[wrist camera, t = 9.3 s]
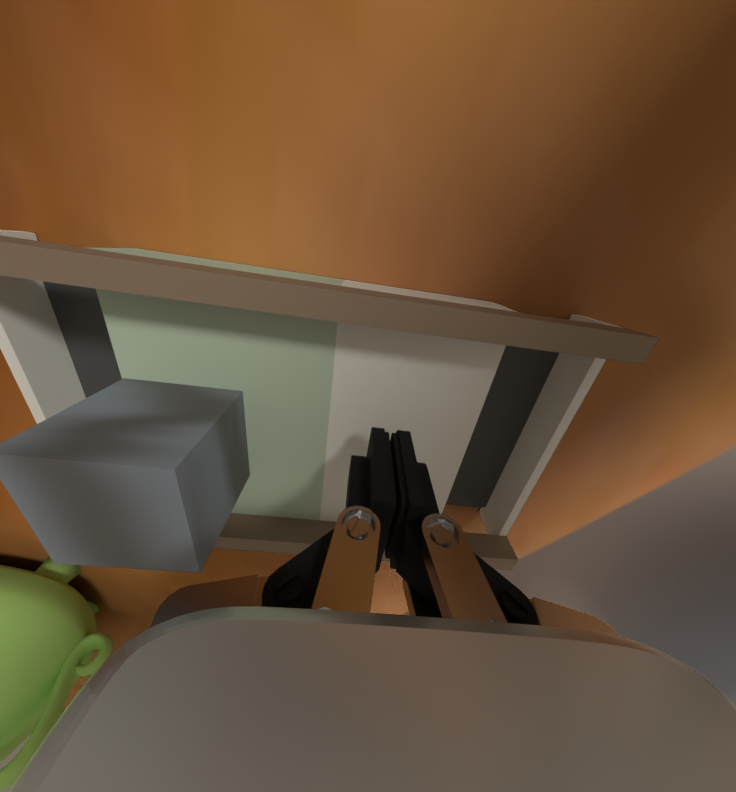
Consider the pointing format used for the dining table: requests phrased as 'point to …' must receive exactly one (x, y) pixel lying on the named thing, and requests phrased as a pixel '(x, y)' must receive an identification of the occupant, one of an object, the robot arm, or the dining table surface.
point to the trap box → (311, 374)
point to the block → (132, 475)
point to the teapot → (41, 655)
